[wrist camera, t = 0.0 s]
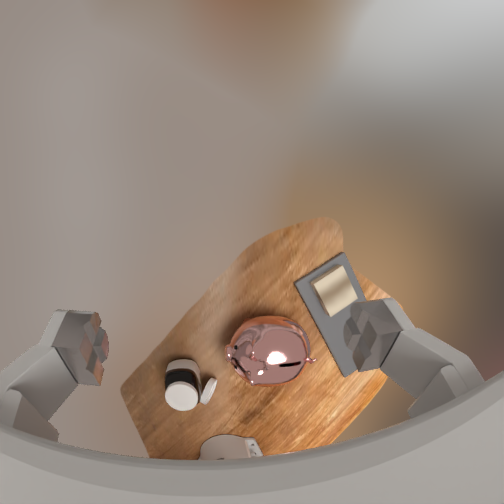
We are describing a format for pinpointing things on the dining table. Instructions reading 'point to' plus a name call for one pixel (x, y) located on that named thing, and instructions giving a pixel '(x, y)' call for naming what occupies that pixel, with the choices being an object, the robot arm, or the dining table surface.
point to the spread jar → (186, 385)
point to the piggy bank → (269, 351)
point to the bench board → (333, 325)
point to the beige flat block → (334, 290)
